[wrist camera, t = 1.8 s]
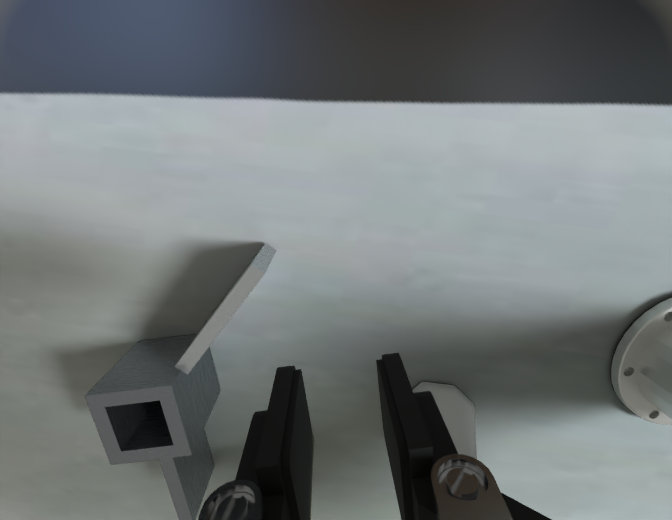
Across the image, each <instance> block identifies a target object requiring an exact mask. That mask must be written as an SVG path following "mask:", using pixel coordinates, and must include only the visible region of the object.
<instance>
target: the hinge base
mask: <svg viewBox="0 0 672 520" xmlns="http://www.w3.org/2000/svg"><path fill="white" fill-rule="evenodd" d="M196 336H197V334H192V335H184V336H176V337H168V338H160V339H151V340H143V341H138V342H137V343H136V344H135V345H134V346H133V347H132V348H131V349H130V350H129V351H128V352H127V353H126V354H125V355H124V356H123V357H122V359H121V360H120V361H119V362H118V363H117V364H116V365H115V366H114V367H113V368H112V369H111V370H110V371H109V372H108V373H107V374H106V375H105V376H104V377H103V378H102V379H101V380H100V381H99V382H98V383H97V384H96V385H95V386H94V387H93V388H92V389H91V390H90V391H89V392H88V393H87V394H86V395H85V399H86V401H87V404H88V406H89V409H90V412H91V414H92V417H93V420H94V422H95V425H96V427H97V430H98V433H99V435H100V438H101V440H102V443H103V446H104V448H105V451H106V454H107V456H108V459H109V461H110V464H111V465H115V464H123V463H131V462H140V461H148V460H156V459H159V460H160V463H161V467H162V470H163V473H164V476H165V479H166V482H167V485H168V488H169V491H170V494H171V497H172V500H173V503H174V506H175V509H176V512H177V515H178V518H179V520H195V519H196V516H197V514H198V511H199V508H200V505H201V502H202V499H203V497H204V494H205V491H206V488H207V485H208V483H209V480H210V477H211V474H212V471H213V468H214V463H213V460H212V456H211V452H210V449H209V445H208V442H207V438H206V434H205V431H204V427H205V424H206V422H207V420H208V418H209V415H210V413H211V411H212V408H213V406H214V404H215V402H216V399H217V397H218V395H219V393H220V387H219V383H218V379H217V375H216V371H215V367H214V363H213V359H212V355H211V351H210V347H208V349H207V350H206V351H205V353H204V354H203V355H202V357H201V358H200V359H199V361H198V362H197V363H196V364H195V366H194V367H193V368H192V370H191V371H190V372H189V374H188V375H187V374H186V373H184V372H182V371H181V370H179V369H177V368H176V367H175V366H176V364H177V363H178V361H179V360H180V358H181V357H182V356H183V354H184V353H185V351H186V350H187V348H188V347H189V346H190V344H191V343H192V341H193V340H194V338H195V337H196Z"/></svg>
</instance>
